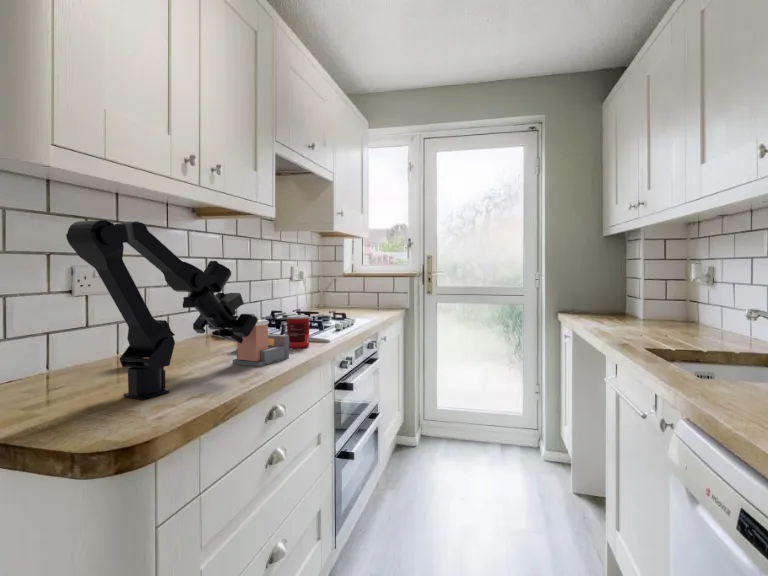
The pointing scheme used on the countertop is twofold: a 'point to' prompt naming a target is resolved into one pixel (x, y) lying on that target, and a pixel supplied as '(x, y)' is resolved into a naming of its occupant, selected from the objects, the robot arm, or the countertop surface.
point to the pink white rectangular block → (254, 342)
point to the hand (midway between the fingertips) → (241, 341)
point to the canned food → (298, 331)
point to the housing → (270, 351)
